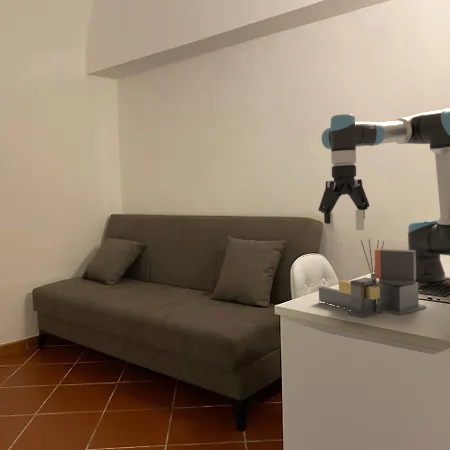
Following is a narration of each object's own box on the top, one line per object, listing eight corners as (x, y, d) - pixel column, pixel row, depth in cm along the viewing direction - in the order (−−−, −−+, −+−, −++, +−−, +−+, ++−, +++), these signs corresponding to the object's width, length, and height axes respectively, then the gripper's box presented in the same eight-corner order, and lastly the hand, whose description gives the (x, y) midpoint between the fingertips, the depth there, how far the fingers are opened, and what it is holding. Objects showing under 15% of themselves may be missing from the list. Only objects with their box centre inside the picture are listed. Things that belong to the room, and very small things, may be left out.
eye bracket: (330, 299, 174) (329, 270, 173) (381, 312, 155) (380, 279, 154) (311, 304, 169) (310, 273, 168) (361, 318, 151) (360, 283, 150)
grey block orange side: (419, 280, 160) (418, 248, 159) (410, 287, 151) (410, 253, 150) (381, 277, 167) (381, 246, 166) (371, 284, 158) (370, 251, 157)
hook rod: (345, 290, 163) (345, 279, 163) (379, 297, 152) (379, 286, 151) (339, 291, 162) (338, 281, 161) (373, 299, 150) (372, 288, 150)
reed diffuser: (359, 295, 178) (357, 239, 176) (366, 291, 183) (365, 237, 182) (387, 298, 172) (386, 240, 170) (394, 294, 177) (393, 238, 176)
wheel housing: (394, 301, 168) (393, 277, 167) (425, 308, 158) (425, 282, 157) (369, 307, 161) (369, 282, 160) (400, 315, 151) (400, 288, 150)
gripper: (361, 164, 167) (363, 227, 169) (305, 166, 154) (307, 234, 156) (379, 163, 161) (381, 228, 163) (323, 165, 147) (325, 236, 149)
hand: (345, 232), depth 159 cm, fingers open, 13 cm apart
